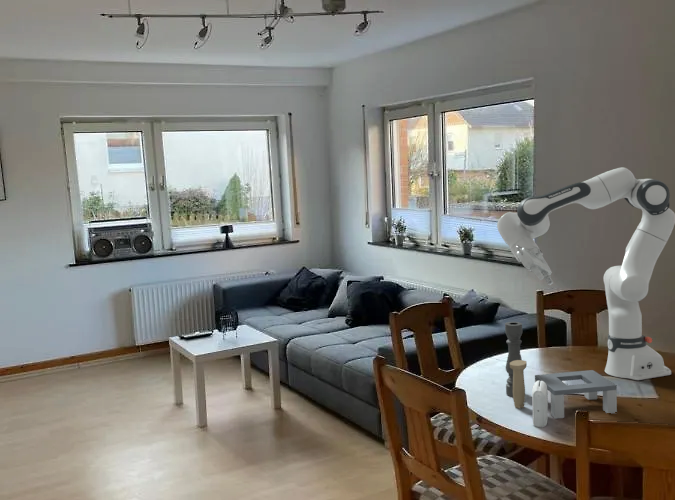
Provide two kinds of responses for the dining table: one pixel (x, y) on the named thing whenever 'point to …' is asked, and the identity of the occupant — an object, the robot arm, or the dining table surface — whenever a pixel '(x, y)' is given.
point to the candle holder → (512, 350)
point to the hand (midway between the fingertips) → (546, 281)
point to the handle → (518, 382)
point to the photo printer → (540, 404)
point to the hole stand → (579, 389)
